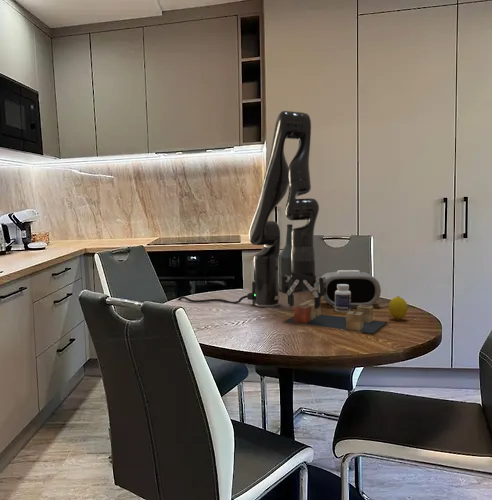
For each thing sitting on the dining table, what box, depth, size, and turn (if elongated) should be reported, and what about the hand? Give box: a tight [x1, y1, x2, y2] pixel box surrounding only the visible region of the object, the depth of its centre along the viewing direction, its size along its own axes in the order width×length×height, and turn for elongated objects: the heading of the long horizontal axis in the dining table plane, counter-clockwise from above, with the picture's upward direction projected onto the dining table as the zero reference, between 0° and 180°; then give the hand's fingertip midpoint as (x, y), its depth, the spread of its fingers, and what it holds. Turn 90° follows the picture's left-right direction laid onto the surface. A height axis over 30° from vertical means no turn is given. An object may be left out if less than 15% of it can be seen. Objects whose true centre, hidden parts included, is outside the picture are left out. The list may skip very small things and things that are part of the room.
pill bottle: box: [334, 284, 352, 314], centre depth 176 cm, size 5×5×10 cm
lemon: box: [388, 296, 409, 321], centre depth 161 cm, size 6×6×8 cm
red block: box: [293, 304, 310, 324], centre depth 163 cm, size 4×4×5 cm
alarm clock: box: [318, 269, 382, 309], centre depth 184 cm, size 21×10×13 cm, turn 76°
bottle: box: [278, 223, 303, 293], centre depth 219 cm, size 10×10×30 cm
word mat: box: [284, 313, 388, 335], centre depth 161 cm, size 28×16×1 cm, turn 50°
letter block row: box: [345, 305, 374, 332], centre depth 156 cm, size 4×15×5 cm, turn 140°
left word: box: [299, 299, 322, 320], centre depth 169 cm, size 4×9×5 cm, turn 140°
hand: (303, 307), depth 162 cm, fingers open, 8 cm apart
